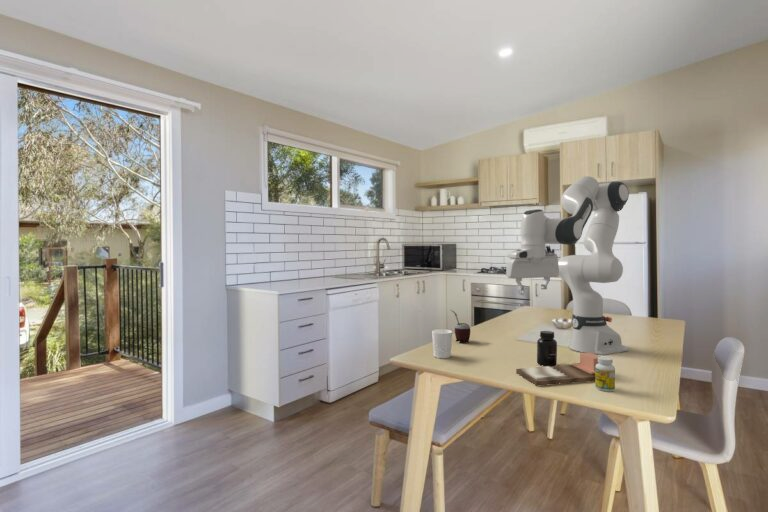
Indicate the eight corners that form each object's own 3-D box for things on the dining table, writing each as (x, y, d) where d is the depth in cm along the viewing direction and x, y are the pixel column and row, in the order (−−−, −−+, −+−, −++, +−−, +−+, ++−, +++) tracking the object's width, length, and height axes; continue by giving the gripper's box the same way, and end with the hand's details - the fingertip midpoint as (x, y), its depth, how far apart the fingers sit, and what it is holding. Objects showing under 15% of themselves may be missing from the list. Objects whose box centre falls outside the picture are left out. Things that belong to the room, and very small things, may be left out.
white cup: (454, 354, 170) (454, 330, 170) (449, 359, 163) (448, 334, 163) (435, 352, 174) (435, 328, 173) (429, 357, 167) (429, 332, 166)
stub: (592, 363, 150) (592, 350, 150) (612, 372, 140) (612, 358, 140) (572, 365, 149) (572, 352, 149) (591, 374, 139) (591, 360, 139)
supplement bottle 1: (554, 368, 152) (555, 334, 151) (535, 365, 155) (535, 332, 155) (558, 363, 157) (558, 331, 157) (539, 360, 161) (539, 329, 160)
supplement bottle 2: (618, 390, 129) (619, 359, 129) (606, 393, 127) (607, 361, 127) (603, 384, 134) (603, 354, 134) (591, 387, 132) (591, 357, 131)
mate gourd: (472, 341, 192) (472, 308, 191) (466, 344, 185) (466, 310, 185) (457, 339, 196) (457, 307, 195) (450, 342, 189) (450, 309, 189)
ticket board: (588, 367, 152) (588, 361, 152) (614, 379, 139) (614, 372, 139) (516, 373, 146) (516, 366, 146) (536, 386, 134) (536, 379, 134)
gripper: (552, 252, 164) (552, 287, 164) (504, 253, 160) (504, 289, 160) (562, 252, 158) (562, 289, 158) (512, 253, 153) (512, 291, 154)
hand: (532, 289), depth 159 cm, fingers open, 8 cm apart
